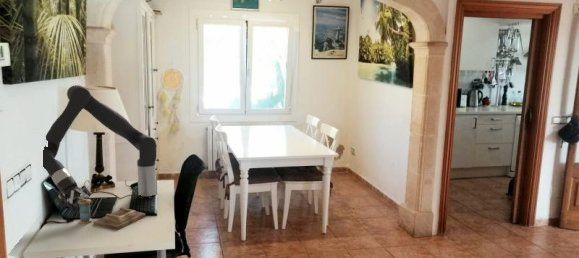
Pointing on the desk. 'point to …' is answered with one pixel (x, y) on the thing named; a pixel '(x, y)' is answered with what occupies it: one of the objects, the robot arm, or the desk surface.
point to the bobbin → (84, 211)
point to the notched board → (119, 219)
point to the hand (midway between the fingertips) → (83, 208)
